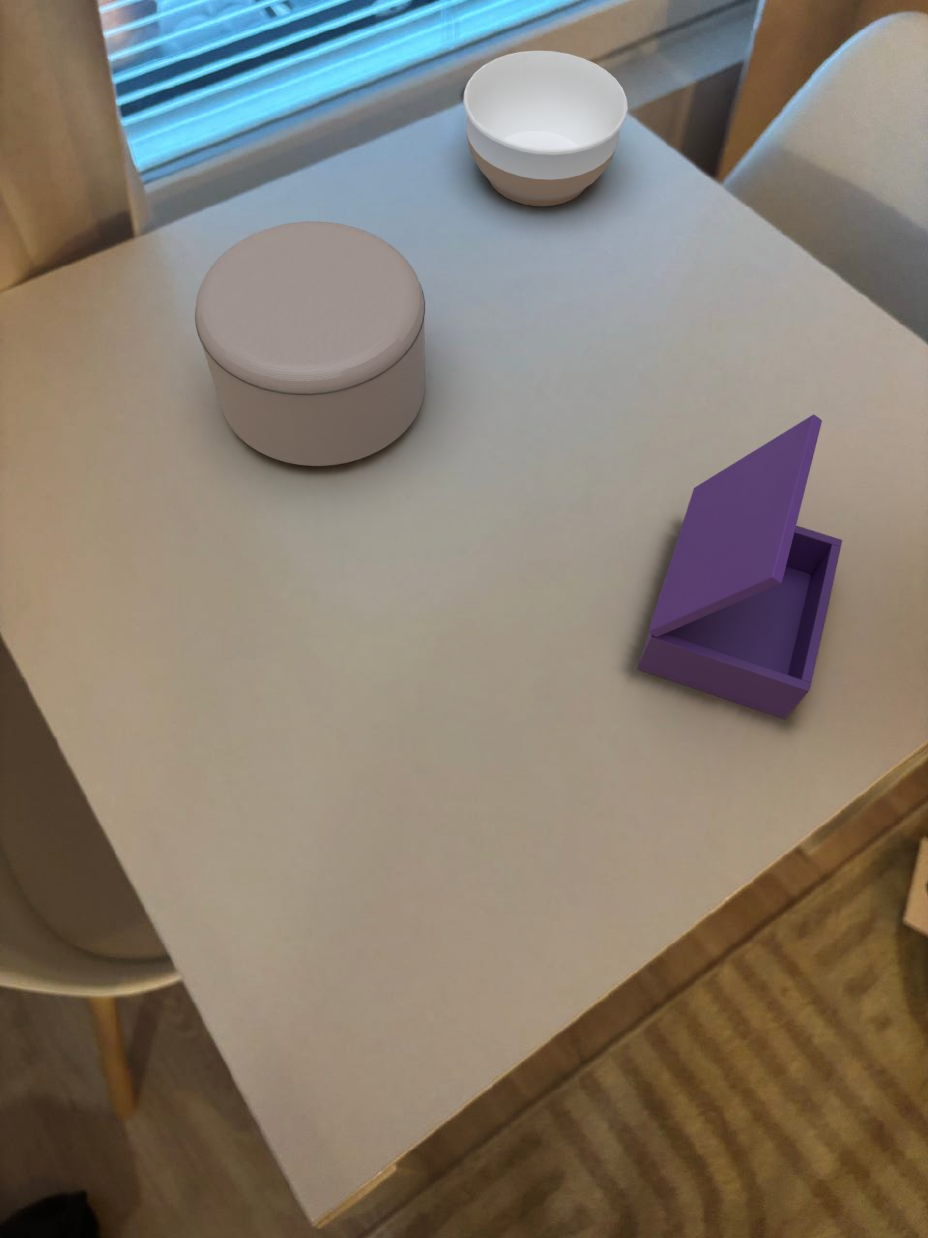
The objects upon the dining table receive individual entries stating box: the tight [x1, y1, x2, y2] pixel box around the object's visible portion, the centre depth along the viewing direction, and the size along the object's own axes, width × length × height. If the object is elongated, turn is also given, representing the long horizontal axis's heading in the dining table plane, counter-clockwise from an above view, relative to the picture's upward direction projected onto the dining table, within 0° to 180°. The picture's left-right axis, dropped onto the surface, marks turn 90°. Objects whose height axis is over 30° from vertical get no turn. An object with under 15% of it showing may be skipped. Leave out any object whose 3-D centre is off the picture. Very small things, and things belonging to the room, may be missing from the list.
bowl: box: [462, 50, 629, 207], centre depth 95 cm, size 16×16×8 cm
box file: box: [636, 525, 843, 720], centre depth 71 cm, size 11×13×5 cm
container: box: [194, 221, 426, 467], centre depth 78 cm, size 18×18×12 cm
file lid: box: [647, 414, 823, 637], centre depth 64 cm, size 12×13×1 cm
